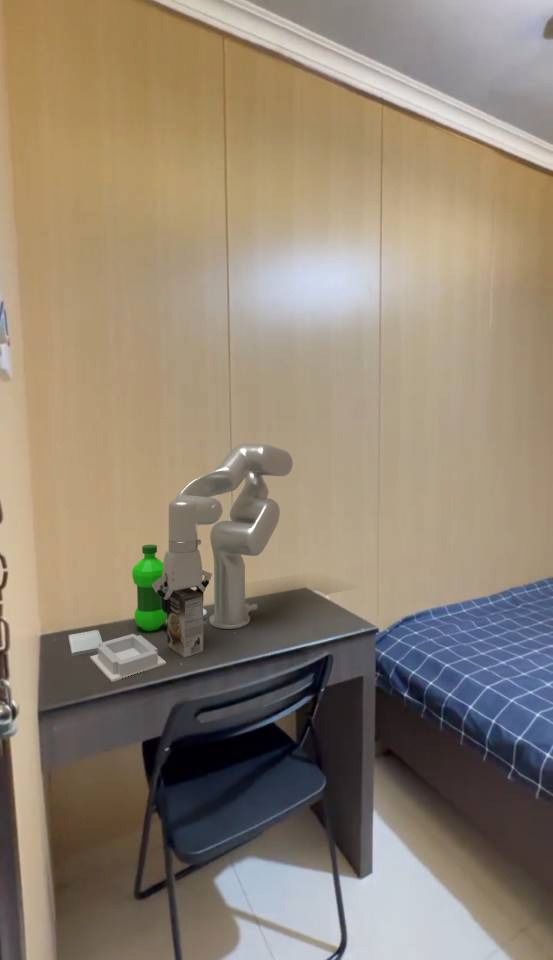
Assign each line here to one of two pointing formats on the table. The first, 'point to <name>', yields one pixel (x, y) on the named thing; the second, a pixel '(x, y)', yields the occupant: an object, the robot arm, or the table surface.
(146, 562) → the plastic bottle
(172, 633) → the coffee box
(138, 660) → the tray
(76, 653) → the hard drive
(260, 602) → the table surface
